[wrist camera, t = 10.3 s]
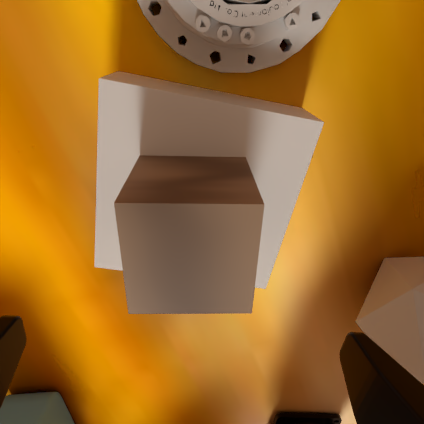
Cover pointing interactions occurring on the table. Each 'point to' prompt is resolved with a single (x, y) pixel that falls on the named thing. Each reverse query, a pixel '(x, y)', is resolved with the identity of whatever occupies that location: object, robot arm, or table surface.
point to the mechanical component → (238, 29)
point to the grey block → (199, 149)
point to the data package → (35, 409)
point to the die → (397, 312)
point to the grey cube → (189, 235)
